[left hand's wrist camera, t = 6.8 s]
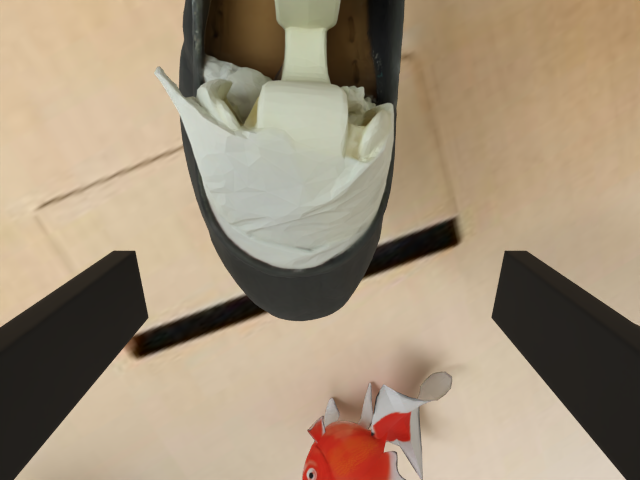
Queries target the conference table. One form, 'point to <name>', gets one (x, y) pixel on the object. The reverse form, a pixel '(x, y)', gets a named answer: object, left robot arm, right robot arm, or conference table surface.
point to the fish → (372, 435)
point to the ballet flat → (291, 140)
